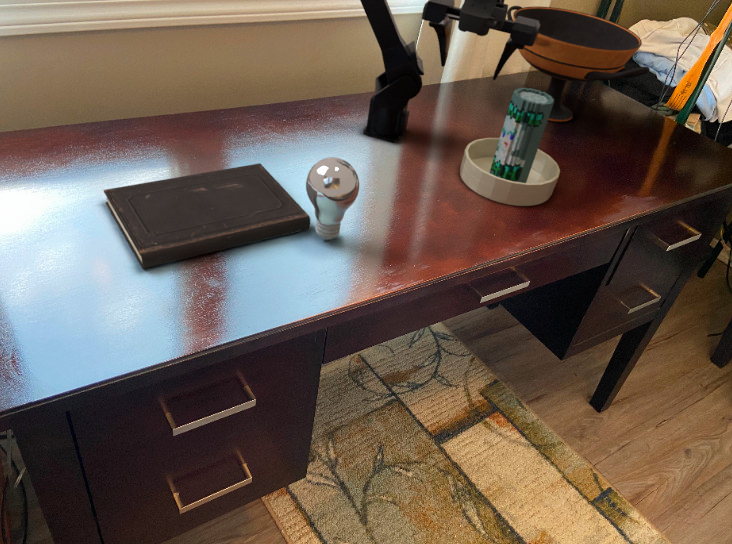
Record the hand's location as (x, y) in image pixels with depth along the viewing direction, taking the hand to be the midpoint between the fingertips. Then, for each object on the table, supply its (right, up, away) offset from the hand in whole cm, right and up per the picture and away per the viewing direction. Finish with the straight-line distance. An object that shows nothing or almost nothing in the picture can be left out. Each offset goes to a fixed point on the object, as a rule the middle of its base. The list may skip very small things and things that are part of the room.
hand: (468, 72), depth 105 cm
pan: (+6, -19, 0) cm, 20 cm away
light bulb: (-23, -31, -21) cm, 44 cm away
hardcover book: (-39, -28, -21) cm, 53 cm away
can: (+6, -19, -2) cm, 20 cm away
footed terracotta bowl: (+22, +1, +27) cm, 34 cm away
